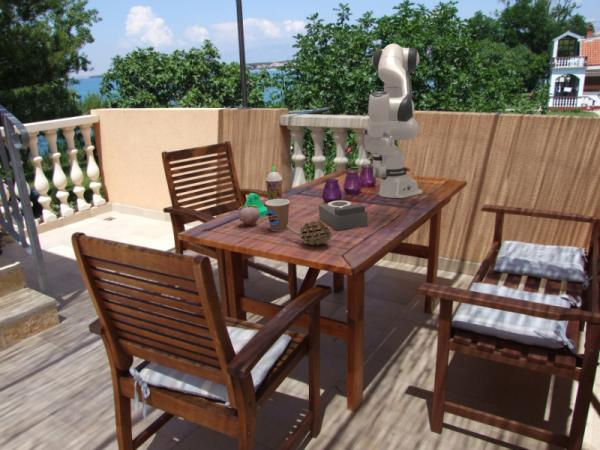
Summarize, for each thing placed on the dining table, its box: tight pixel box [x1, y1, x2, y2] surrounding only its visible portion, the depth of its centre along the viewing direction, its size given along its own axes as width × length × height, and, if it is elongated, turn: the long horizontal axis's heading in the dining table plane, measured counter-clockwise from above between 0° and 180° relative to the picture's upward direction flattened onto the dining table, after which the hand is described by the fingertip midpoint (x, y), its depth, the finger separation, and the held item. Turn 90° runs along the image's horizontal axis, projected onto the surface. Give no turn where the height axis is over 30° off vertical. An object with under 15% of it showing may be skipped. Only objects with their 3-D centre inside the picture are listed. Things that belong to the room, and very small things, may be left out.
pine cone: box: [286, 219, 333, 246], centre depth 202 cm, size 22×10×10 cm, turn 56°
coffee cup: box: [265, 198, 291, 232], centre depth 220 cm, size 10×10×12 cm
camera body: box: [318, 200, 369, 231], centre depth 226 cm, size 14×20×9 cm
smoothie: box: [265, 165, 283, 201], centre depth 255 cm, size 8×8×20 cm
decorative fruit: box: [237, 203, 259, 226], centre depth 228 cm, size 9×8×10 cm
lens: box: [372, 153, 386, 179], centre depth 219 cm, size 6×6×10 cm
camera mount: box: [244, 192, 268, 219], centre depth 243 cm, size 12×8×10 cm, turn 130°
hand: (379, 164), depth 219 cm, fingers closed on lens, 5 cm apart
